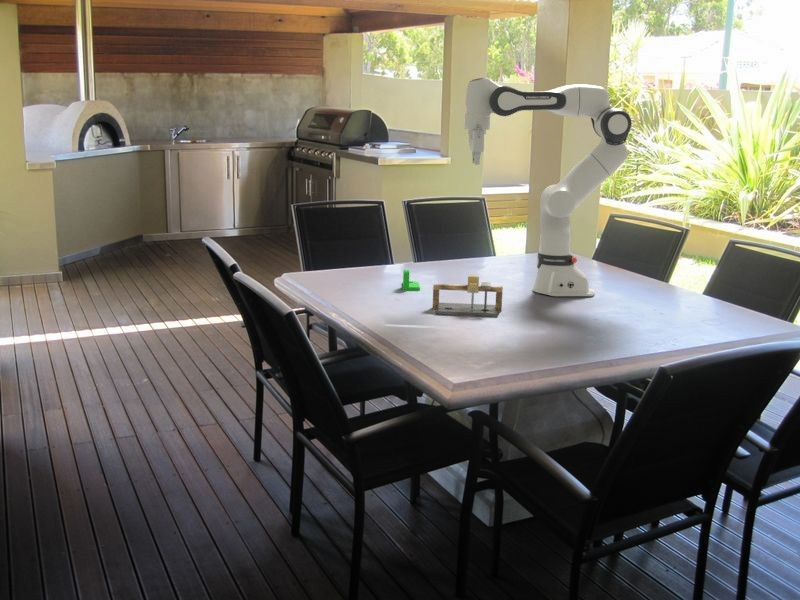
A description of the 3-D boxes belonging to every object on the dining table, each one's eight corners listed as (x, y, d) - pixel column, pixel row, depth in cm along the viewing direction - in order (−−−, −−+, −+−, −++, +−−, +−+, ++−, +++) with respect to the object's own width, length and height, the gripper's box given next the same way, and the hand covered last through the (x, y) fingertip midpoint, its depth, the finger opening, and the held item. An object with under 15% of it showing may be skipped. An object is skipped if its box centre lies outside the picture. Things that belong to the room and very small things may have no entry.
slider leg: (477, 304, 285) (478, 275, 283) (477, 309, 278) (478, 279, 276) (466, 303, 285) (468, 274, 283) (466, 308, 278) (467, 278, 276)
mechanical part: (419, 292, 310) (420, 271, 308) (403, 292, 310) (403, 270, 308) (418, 286, 322) (418, 265, 320) (402, 286, 322) (403, 265, 320)
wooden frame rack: (501, 310, 284) (502, 282, 282) (501, 314, 277) (503, 286, 275) (432, 307, 286) (433, 280, 284) (431, 311, 279) (432, 283, 277)
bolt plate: (496, 308, 286) (496, 304, 286) (497, 317, 274) (497, 313, 273) (437, 305, 288) (437, 302, 288) (435, 314, 275) (435, 310, 275)
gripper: (488, 125, 291) (487, 165, 293) (483, 124, 311) (482, 162, 313) (470, 124, 291) (468, 165, 294) (466, 124, 311) (465, 162, 314)
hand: (475, 163), depth 304 cm, fingers open, 8 cm apart
